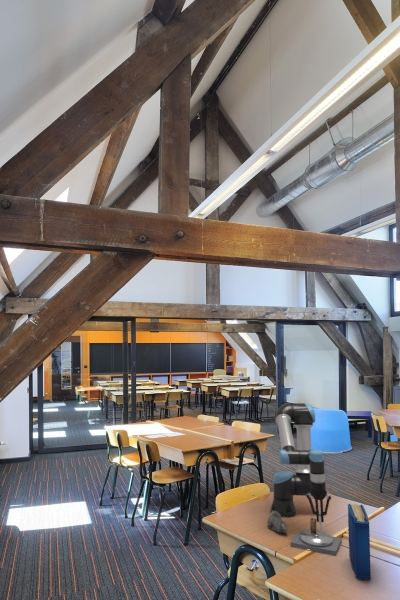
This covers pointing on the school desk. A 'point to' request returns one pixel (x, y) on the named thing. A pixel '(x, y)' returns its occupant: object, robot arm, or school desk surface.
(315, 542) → the crank wheel
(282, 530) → the mineral rock
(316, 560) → the school desk surface
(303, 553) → the school desk surface
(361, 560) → the book
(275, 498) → the robot arm
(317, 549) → the stand
